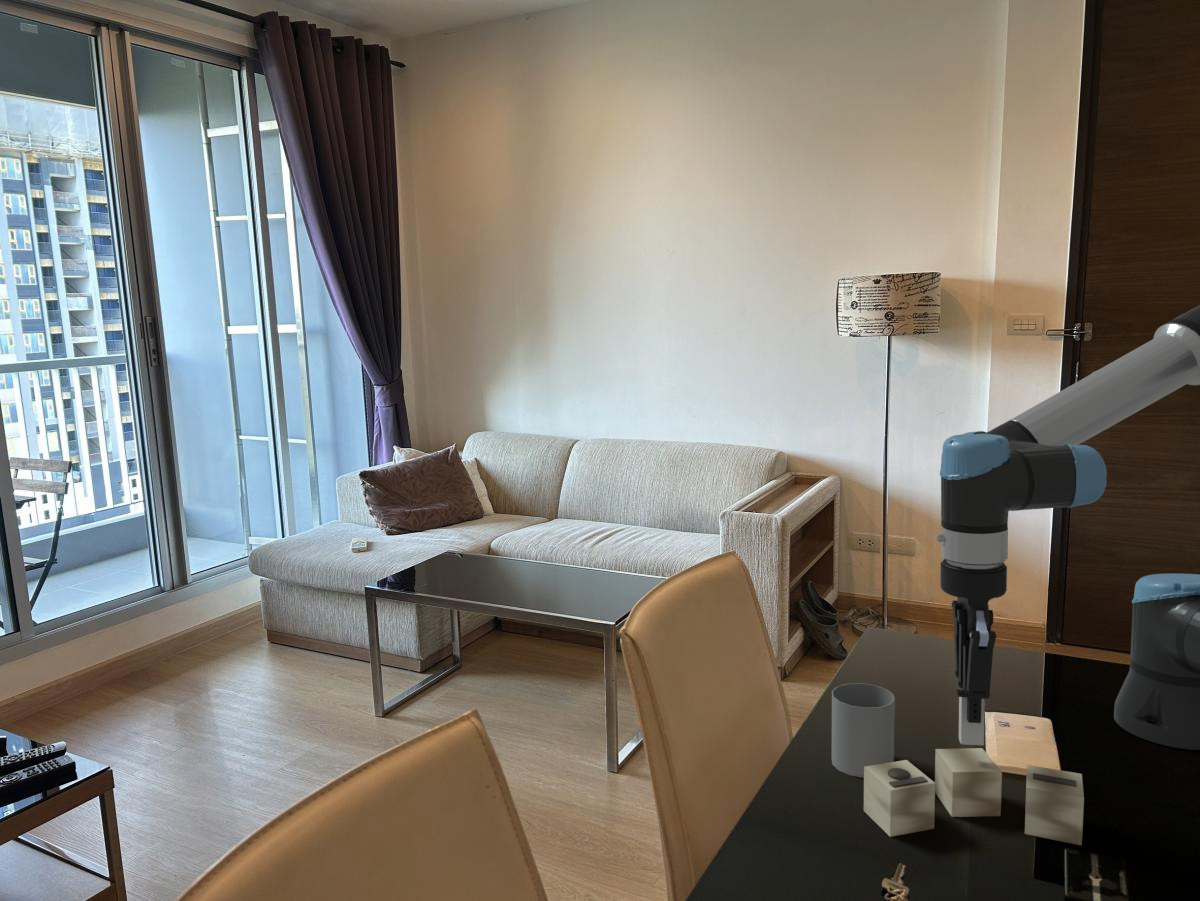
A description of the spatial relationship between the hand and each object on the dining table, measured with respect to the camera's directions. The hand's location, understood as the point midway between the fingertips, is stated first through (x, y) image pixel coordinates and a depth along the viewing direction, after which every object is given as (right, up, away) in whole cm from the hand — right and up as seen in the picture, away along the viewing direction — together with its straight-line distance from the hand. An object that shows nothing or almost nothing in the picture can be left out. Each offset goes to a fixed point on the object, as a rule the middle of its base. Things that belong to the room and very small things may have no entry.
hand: (971, 741), depth 111 cm
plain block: (0, -8, +1) cm, 8 cm away
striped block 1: (-10, -9, -2) cm, 14 cm away
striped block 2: (+8, -9, -5) cm, 13 cm away
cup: (-10, -7, +12) cm, 17 cm away
